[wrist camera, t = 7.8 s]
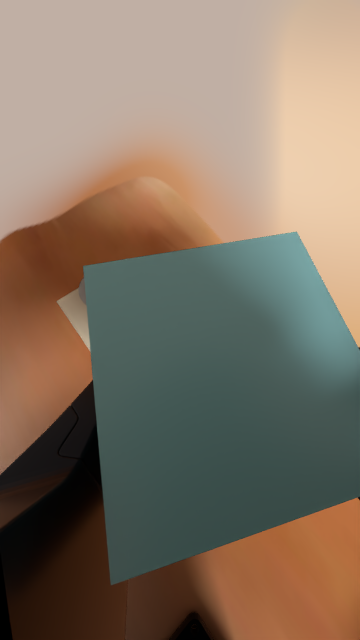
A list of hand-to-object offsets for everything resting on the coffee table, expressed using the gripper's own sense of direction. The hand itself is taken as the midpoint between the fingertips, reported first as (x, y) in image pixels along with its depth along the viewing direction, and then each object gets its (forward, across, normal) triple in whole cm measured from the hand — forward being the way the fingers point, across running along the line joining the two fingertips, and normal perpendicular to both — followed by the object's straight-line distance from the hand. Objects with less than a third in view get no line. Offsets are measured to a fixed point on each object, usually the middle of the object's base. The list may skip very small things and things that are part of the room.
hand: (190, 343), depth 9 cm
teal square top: (+2, 0, +4) cm, 4 cm away
